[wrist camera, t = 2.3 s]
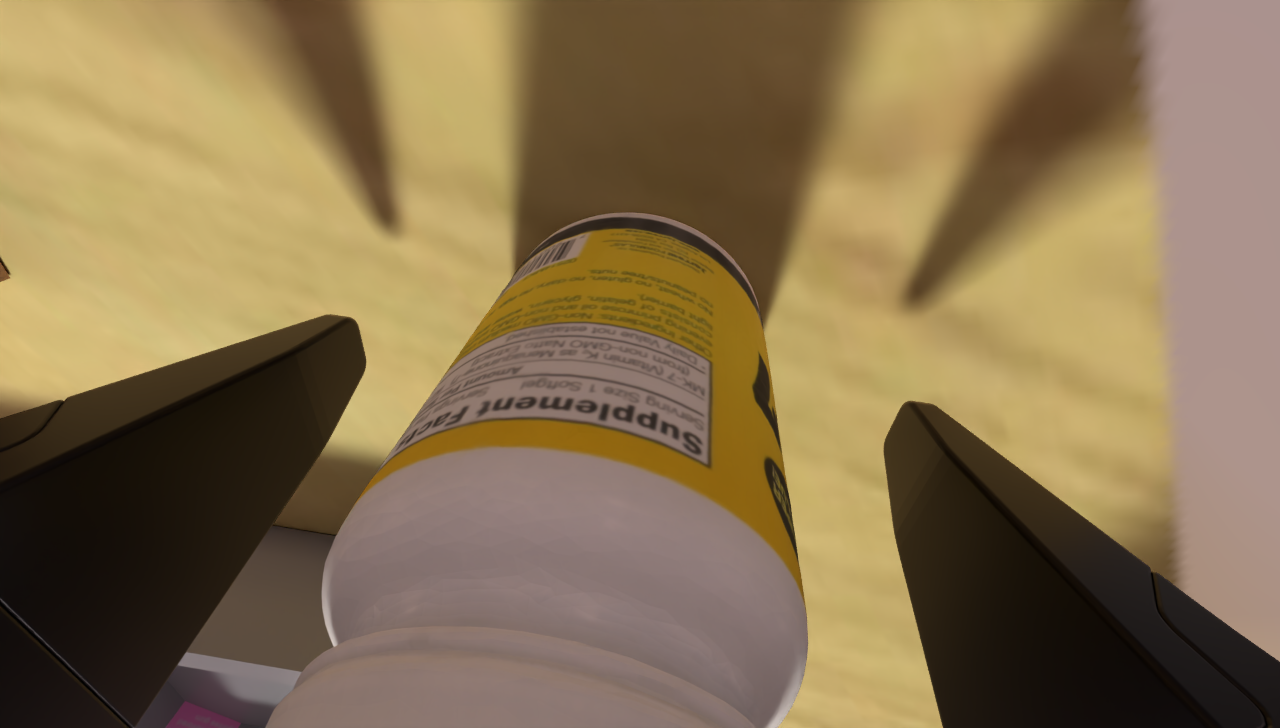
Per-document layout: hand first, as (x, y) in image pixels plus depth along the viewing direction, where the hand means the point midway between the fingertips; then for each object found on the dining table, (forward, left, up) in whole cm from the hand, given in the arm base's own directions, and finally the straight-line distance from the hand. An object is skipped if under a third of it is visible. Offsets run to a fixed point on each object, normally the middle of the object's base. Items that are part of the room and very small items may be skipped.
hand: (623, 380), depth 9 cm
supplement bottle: (0, 0, -2) cm, 2 cm away
